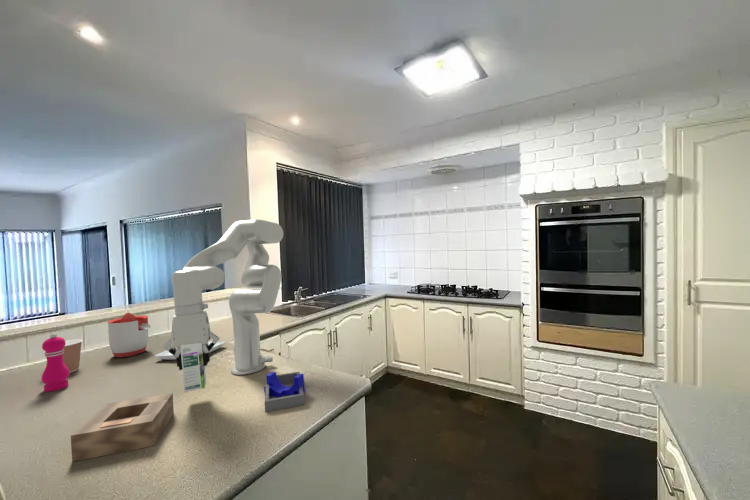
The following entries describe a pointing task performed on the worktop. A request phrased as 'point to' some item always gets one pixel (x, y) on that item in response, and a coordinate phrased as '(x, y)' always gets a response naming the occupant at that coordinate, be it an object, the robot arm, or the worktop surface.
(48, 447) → the worktop surface
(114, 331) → the citrus juicer
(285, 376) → the clip frame
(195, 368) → the syrup box
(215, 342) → the robot arm
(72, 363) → the coffee cup
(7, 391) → the worktop surface
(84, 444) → the socket block
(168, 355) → the salad plate
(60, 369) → the pepper mill
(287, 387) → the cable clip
